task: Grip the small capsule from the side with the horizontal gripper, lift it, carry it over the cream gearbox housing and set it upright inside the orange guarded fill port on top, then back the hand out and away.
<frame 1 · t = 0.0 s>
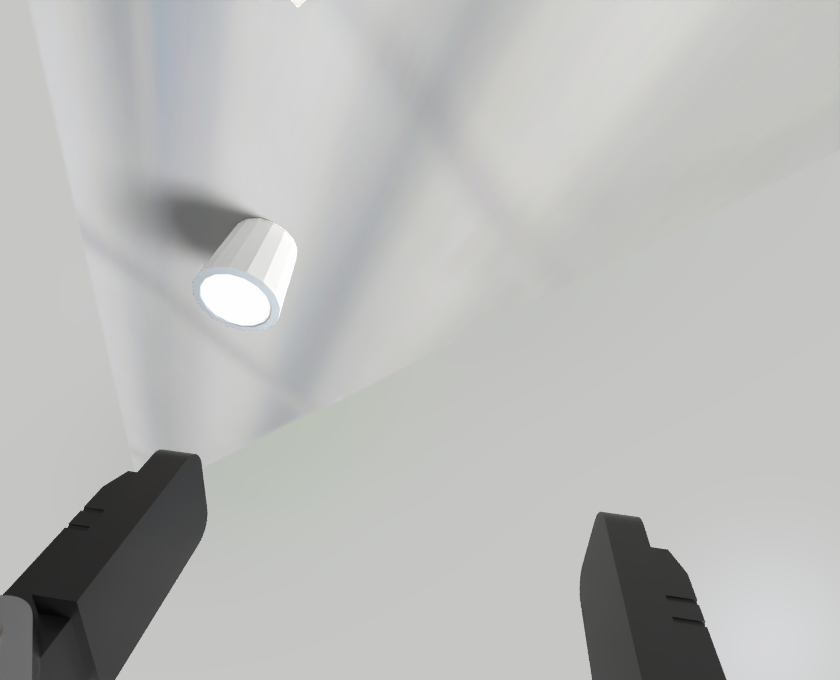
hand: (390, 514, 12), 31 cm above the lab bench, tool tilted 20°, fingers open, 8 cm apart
shot glass: (265, 244, 49), on the lab bench
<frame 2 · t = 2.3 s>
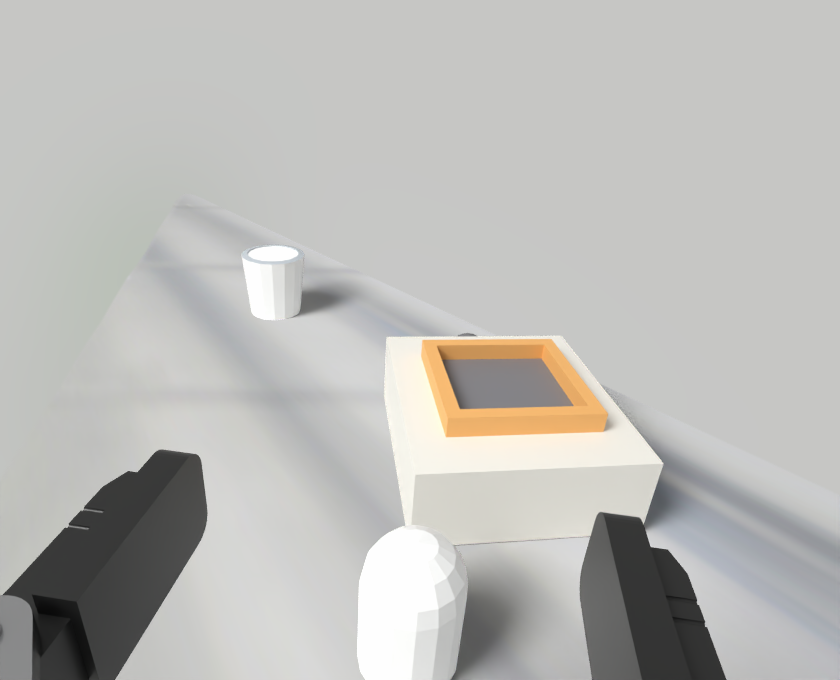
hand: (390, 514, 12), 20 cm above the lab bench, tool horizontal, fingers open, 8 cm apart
shot glass: (276, 311, 67), on the lab bench
gearbox: (493, 454, 46), on the lab bench
capsule: (407, 654, 30), on the lab bench
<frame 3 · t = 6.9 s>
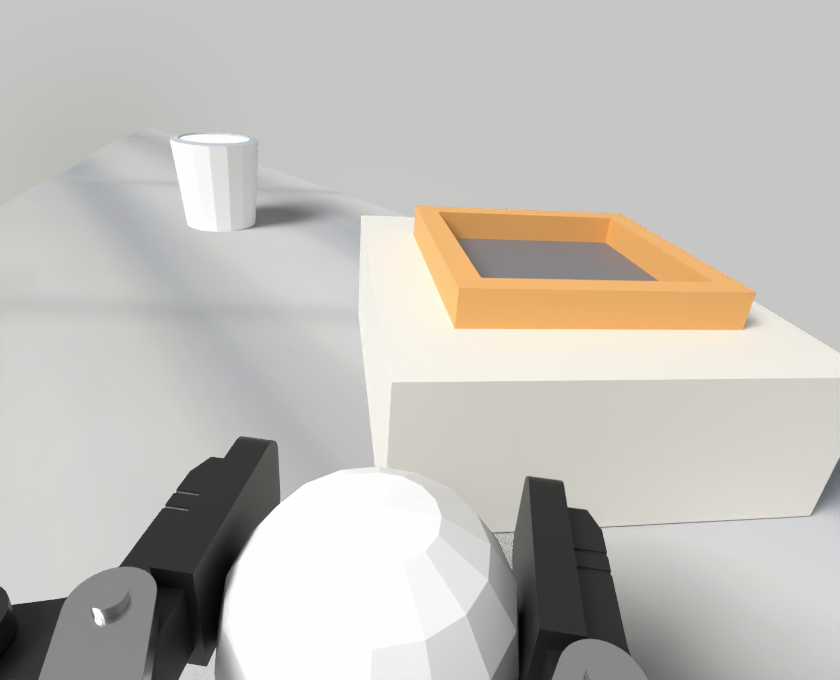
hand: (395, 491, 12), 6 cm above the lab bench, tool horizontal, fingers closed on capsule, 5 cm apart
shot glass: (221, 224, 50), on the lab bench
gearbox: (530, 390, 28), on the lab bench
when the fingers open (13 cm above the lab bench, at t = 12.0 s): capsule stays where it is, resting on gearbox.
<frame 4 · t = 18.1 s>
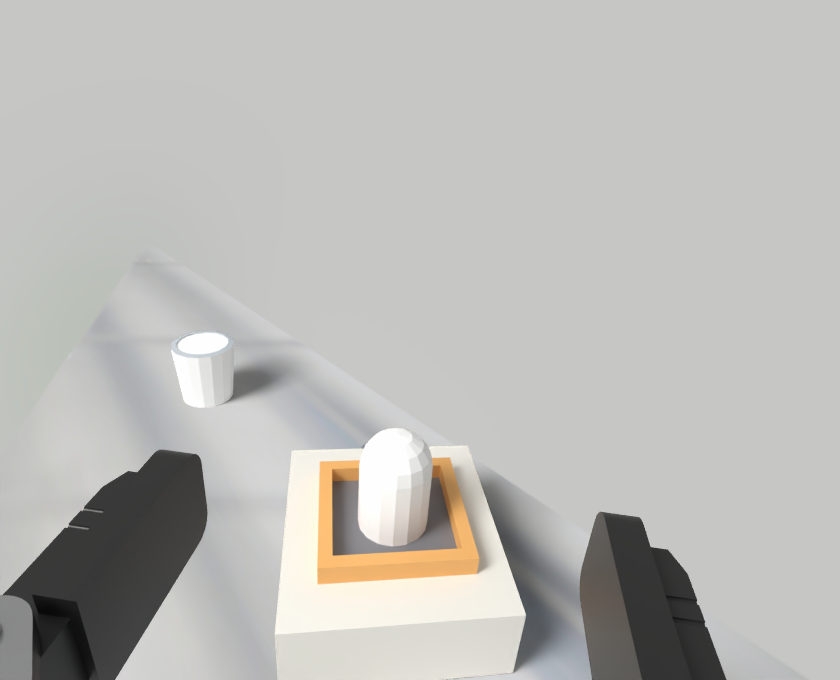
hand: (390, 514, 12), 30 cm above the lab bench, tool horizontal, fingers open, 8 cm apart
shot glass: (208, 396, 69), on the lab bench
gearbox: (387, 575, 47), on the lab bench
capsule: (392, 521, 44), point 6 cm above the lab bench, touching gearbox
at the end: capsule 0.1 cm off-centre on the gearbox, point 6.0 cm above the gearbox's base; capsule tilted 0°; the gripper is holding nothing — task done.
